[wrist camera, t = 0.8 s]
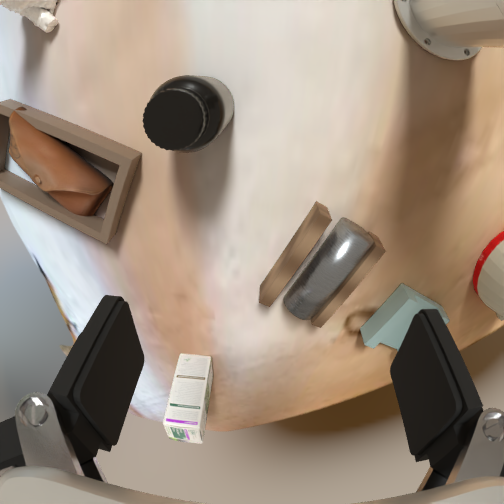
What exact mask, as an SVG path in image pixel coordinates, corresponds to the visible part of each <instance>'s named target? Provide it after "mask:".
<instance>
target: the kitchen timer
mask: <svg viewBox="0 0 504 504" xmlns="http://www.w3.org/2000/svg"><path fill="white" fill-rule="evenodd" d="M473 285H474V290H475V291H476V293H477V294H478V296H479V297H480V298H481V300H482V301H483V302H484V303H485V304H486V305H487V306H488V307H489V308H490V309H492V310H493V311H495V312H496V315H497V317H498V318H499V319H500V320H501V321H502V320H504V231H503V232H501V233H500V234H498V235H497V236H496V237H495V238H494V239H493V240H491V242H490V243H489V244H488V245H487V247H486V248H485V249H484V250H483V252H482V254H481V256H480V258H479V259H478V261H477V264H476V267H475V270H474V275H473Z"/></svg>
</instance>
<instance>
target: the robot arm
mask: <svg viewBox="0 0 504 504" xmlns="http://www.w3.org/2000/svg"><path fill="white" fill-rule="evenodd" d="M394 5H395V9H396V12H397V15H398V17H399V19H400V21H401V23H402V25H403V26H404V28H405V29H406V31H407V32H408V34H409V35H410V36H411V37H412V38H413V39H414V41H415V42H417V43H418V44H419V45H420V46H421V47H422V48H423V49H425V50H427V51H428V52H430V53H431V54H433V55H435V56H438V57H440V58H443V59H447V60H465V59H469V58H471V57H473V56H474V55H476V54H477V53H478V52H479V51H480V49H481V48H482V47H502V48H504V0H402V1H401V0H394ZM424 40H425V41H426V44H425V42H424ZM143 365H144V354H143V351H142V348H141V344H140V341H139V338H138V335H137V332H136V328H135V325H134V322H133V318H132V315H131V311H130V308H129V304H128V303H127V302H125V301H124V299H123V298H122V297H120V296H110V295H105V296H104V297H103V298H102V300H101V302H100V303H99V305H98V306H97V308H96V310H95V311H94V313H93V315H92V316H91V318H90V320H89V322H88V323H87V325H86V327H85V328H84V330H83V332H81V334H80V335H79V336H78V338H77V340H76V342H75V343H74V345H73V347H72V349H71V351H70V352H69V354H68V356H67V358H66V360H65V362H64V364H63V365H62V368H61V369H60V371H59V373H58V375H57V377H56V379H55V381H54V382H53V384H52V386H51V388H50V390H49V392H48V394H47V395H45V394H43V393H37V392H35V393H31V394H28V395H26V396H25V397H23V398H22V399H21V400H20V402H19V403H18V405H17V407H16V410H15V416H14V417H12V418H10V419H7V420H5V421H3V422H1V423H0V504H206V503H199V502H192V501H185V500H179V499H173V498H168V497H162V496H157V495H153V494H148V493H144V492H140V491H135V490H131V489H127V488H123V487H119V486H116V485H112V484H108V482H107V480H106V478H105V476H104V474H103V472H102V470H101V468H100V465H99V464H98V461H97V459H96V455H97V452H98V449H102V450H105V451H109V452H110V451H111V447H112V445H116V444H117V442H118V439H119V436H120V433H121V430H122V427H123V424H124V421H125V417H126V414H127V411H128V408H129V405H130V402H131V400H132V397H133V394H134V391H135V388H136V385H137V382H138V379H139V376H140V374H141V371H142V368H143ZM390 374H391V378H392V381H393V384H394V388H395V392H396V396H397V399H398V403H399V407H400V411H401V415H402V419H403V423H404V427H405V432H406V435H407V440H408V445H409V449H410V453H411V454H412V455H415V460H416V462H419V461H423V460H427V459H429V462H430V468H429V470H428V472H427V474H426V475H425V477H424V479H423V481H422V483H421V484H420V486H419V488H418V490H417V491H416V493H412V494H406V495H402V496H397V497H392V498H386V499H381V500H375V501H368V502H361V503H354V504H504V412H503V411H501V410H499V409H496V408H489V409H486V410H485V411H483V409H482V406H483V405H482V402H481V400H480V397H479V395H478V392H477V390H476V388H475V385H474V383H473V381H472V378H471V376H470V374H469V372H468V369H467V367H466V365H465V363H464V361H463V358H462V356H461V354H460V352H459V350H458V348H457V346H456V344H455V342H454V340H453V338H452V336H451V334H450V332H449V330H448V328H447V326H446V324H445V322H444V320H443V318H442V317H441V315H440V313H439V311H438V310H437V309H421V310H420V311H419V312H418V314H415V315H414V317H413V319H412V322H411V324H410V326H409V328H408V331H407V333H406V335H405V337H404V340H403V342H402V344H401V346H400V348H399V350H398V352H397V354H396V356H395V358H394V360H393V362H392V365H391V368H390Z"/></svg>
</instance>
